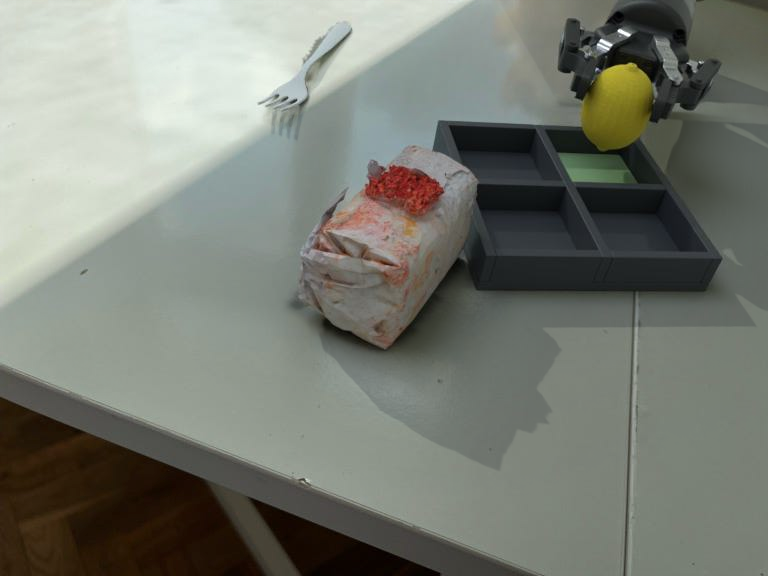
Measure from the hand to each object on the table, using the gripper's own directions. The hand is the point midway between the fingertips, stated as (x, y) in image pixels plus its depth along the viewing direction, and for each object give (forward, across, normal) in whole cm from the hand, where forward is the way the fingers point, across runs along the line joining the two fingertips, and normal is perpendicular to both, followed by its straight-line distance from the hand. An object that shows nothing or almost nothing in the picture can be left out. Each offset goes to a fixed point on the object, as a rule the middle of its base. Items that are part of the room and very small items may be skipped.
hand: (619, 100), depth 61 cm
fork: (-8, -30, +10) cm, 32 cm away
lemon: (-3, 0, +6) cm, 7 cm away
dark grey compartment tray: (+4, -1, +10) cm, 10 cm away
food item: (+19, -11, +10) cm, 24 cm away
